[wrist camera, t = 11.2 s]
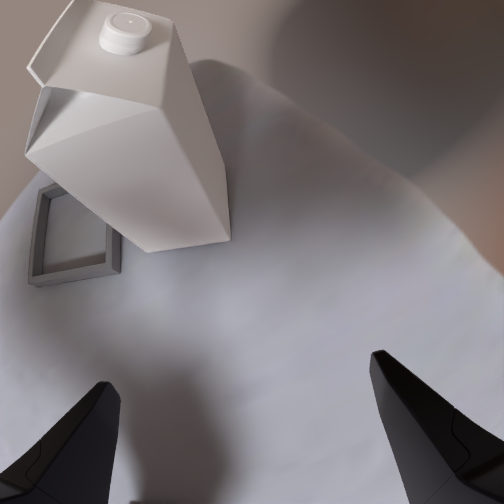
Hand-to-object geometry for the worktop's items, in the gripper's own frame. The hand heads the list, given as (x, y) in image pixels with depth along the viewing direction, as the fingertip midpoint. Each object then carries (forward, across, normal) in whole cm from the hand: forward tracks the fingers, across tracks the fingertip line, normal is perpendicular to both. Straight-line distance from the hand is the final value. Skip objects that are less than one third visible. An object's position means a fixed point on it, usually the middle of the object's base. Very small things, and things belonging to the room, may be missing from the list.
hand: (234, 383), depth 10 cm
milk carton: (+18, +5, 0) cm, 19 cm away
